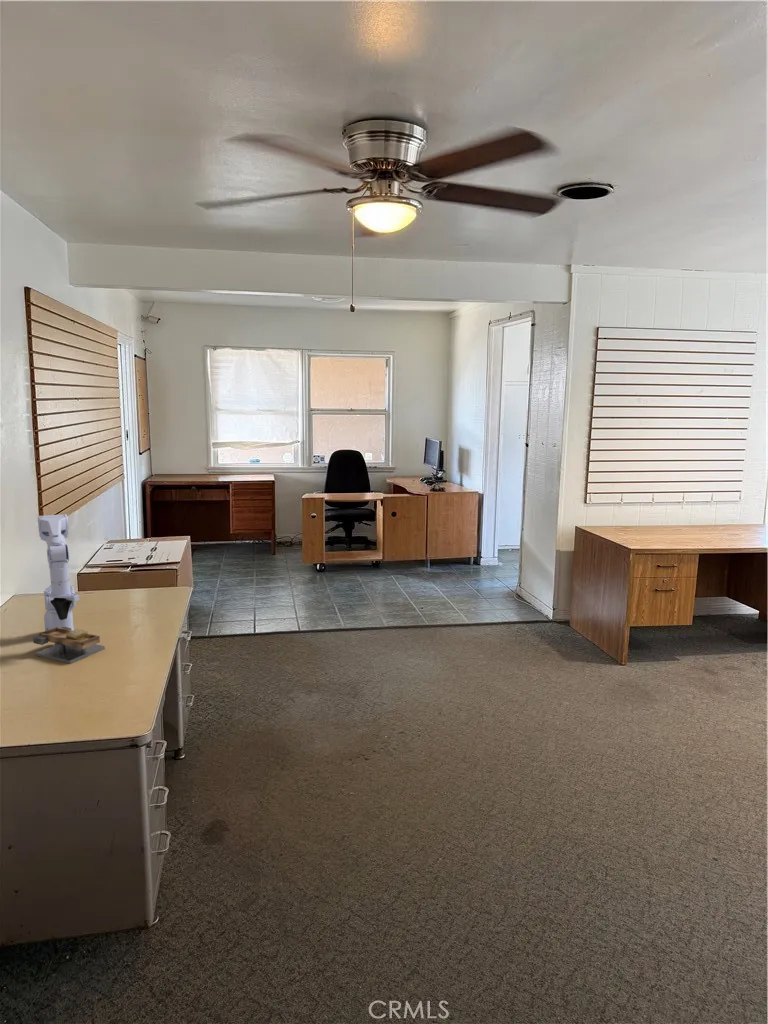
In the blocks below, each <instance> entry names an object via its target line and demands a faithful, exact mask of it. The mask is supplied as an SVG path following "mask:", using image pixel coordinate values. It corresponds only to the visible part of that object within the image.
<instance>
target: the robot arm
mask: <svg viewBox="0 0 768 1024" xmlns="http://www.w3.org/2000/svg"><path fill="white" fill-rule="evenodd" d="M37 525H38V526H37V527H38V532H39V537H40V540H41V541H44V542H45V543H46V545H47V546H46V547H47V548H46V556H47V563H48V568H49V576H50V585H49V586H47V588H45V590H43V597H44V604H45V611H46V612H45V613H44V616H43V621H44V623H43V624H44V632H45V631H47V630H50V629H53V628H56V627H59V628H61V627H67V628H71V630H76V628H74V617H73V616H74V615H73V609H74V608H75V607H76V605H77V603H76V602H78V601H80V594H77V593H76V592H75V588H74V587H73V585H71V581H70V569H69V561H70V549H69V545H68V543H67V542H66V539H67V538H68V535H69V529H70V528H69V518H68V514H67V513H63V514H62V513H61V514H52V515H47V514H46V515H39V516H38V517H37Z"/></svg>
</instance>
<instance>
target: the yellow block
mask: <svg viewBox="0 0 768 1024" xmlns="http://www.w3.org/2000/svg"><path fill="white" fill-rule="evenodd" d="M88 634H89V633H88V630H83V629H79V628H75V630H73V631H70V632H67V633H66V638H67V639H72V640H76V641H83V640H86V639H88Z"/></svg>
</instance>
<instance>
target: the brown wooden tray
mask: <svg viewBox="0 0 768 1024" xmlns="http://www.w3.org/2000/svg"><path fill="white" fill-rule="evenodd" d="M70 631H73V630H71V628H67V627H61V628H59V627H56V628H53V629H50V630H47V631H45V630H44V631H43V632H42V631H41V632H40V633H39V635H35V636H34V637H32V641H33V644H36V645H41V646H43V645H45V644H49V643H54V644H55V643H60V644H62V645H66V646H71V647H75V648H80V649H85V648H87V647H90V646H92V645H95V644H97V645H98V644H99V643H101V637H100V635H97V634H93V633H92V634H91V633H88V639H86V640H83V641H76V640H72V639H67V638H66V633H67V632H70Z"/></svg>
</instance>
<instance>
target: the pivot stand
mask: <svg viewBox="0 0 768 1024" xmlns="http://www.w3.org/2000/svg"><path fill="white" fill-rule="evenodd" d="M105 647H106V646H105V645H101V644H98V643H97V644H95V645H92V646H90V647H87V648H85V649H80V648H75V647H71V646H66V645H62V644H60V643H54V645H52V646H50V647H49V646H48V648H47V647H46V648H44V649H42V650H41V649H40V650H39V651H35V656H36V657H38V658H39V657H41V658H44V659H49V660H53V661H57V662H62V663H65V664H66V663H67V664H73V663H75V662H77V661H79V660H82V659H84V658H87V657H89V656H91V655H94V654H96V653H99V652H100V651H103V650H105Z"/></svg>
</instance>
